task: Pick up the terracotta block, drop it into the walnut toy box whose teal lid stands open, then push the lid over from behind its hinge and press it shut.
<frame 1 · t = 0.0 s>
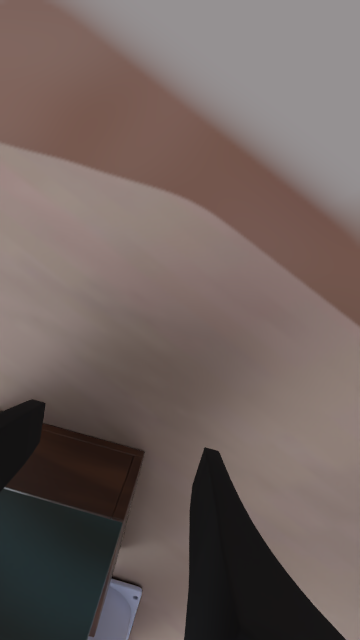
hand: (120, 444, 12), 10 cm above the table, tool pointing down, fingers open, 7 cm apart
toy box: (60, 482, 26), on the table
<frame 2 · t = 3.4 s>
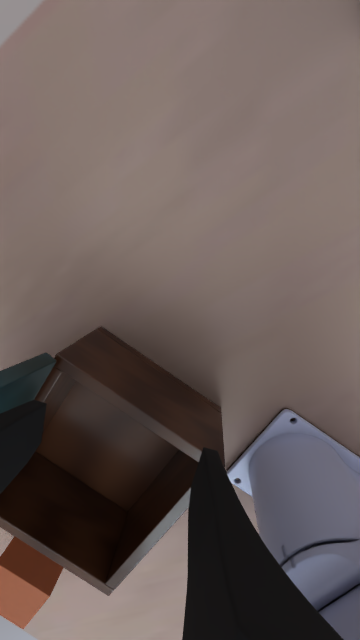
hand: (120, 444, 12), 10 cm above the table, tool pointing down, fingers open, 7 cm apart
toy box: (118, 427, 24), on the table
block: (45, 536, 27), on the table
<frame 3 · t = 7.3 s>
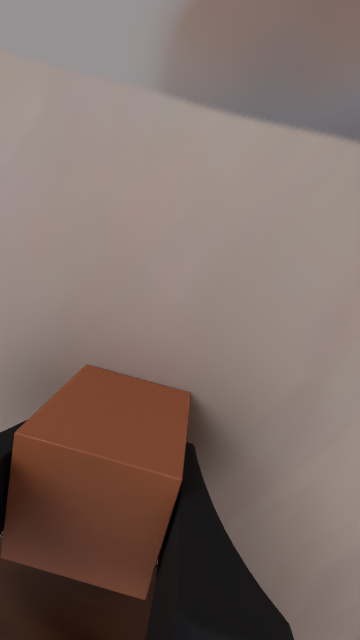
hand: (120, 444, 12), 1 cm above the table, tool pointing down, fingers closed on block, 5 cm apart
toy box: (89, 631, 17), on the table
block: (128, 424, 13), on the table, touching gripper
when the fingers open (2 cm above the table, at t = 12.7 s): block stays where it is, resting on toy box.
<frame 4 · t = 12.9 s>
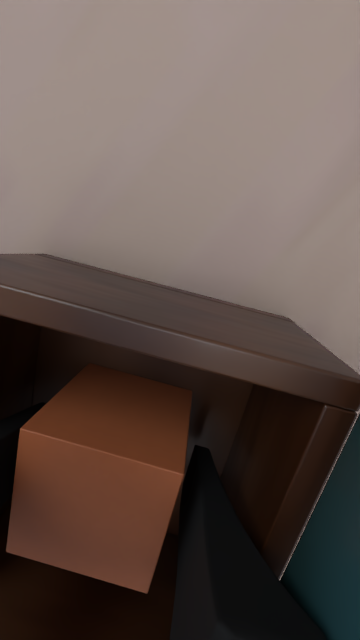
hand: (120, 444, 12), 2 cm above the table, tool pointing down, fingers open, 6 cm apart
toy box: (134, 413, 14), on the table
block: (130, 421, 13), point 1 cm above the table, touching toy box
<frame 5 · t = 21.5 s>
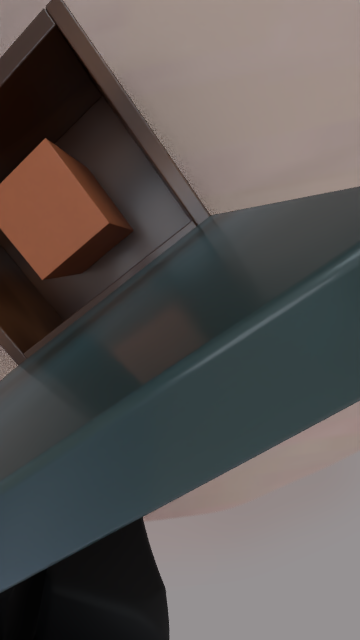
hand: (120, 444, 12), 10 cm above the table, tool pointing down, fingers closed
toy box: (89, 224, 20), on the table
block: (84, 223, 19), point 1 cm above the table, touching toy box
lid: (54, 364, 8), point 13 cm above the table, hinge at 97.6°, touching gripper
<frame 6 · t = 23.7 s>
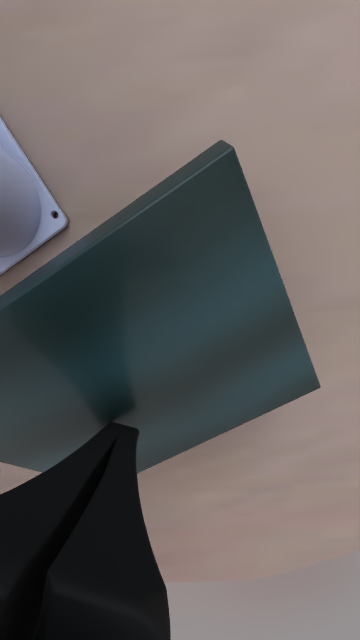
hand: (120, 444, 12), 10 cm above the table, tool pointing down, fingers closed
lid: (137, 392, 11), point 10 cm above the table, hinge at 33.5°, touching gripper
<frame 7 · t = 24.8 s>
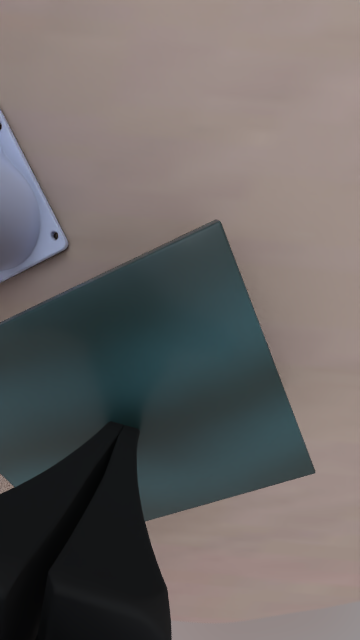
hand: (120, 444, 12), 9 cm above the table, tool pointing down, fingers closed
lid: (126, 421, 12), point 8 cm above the table, hinge at 11.4°
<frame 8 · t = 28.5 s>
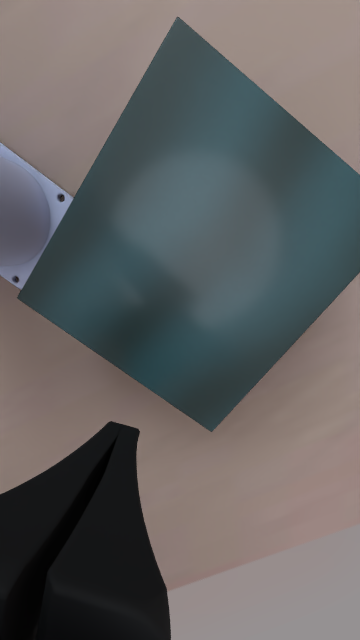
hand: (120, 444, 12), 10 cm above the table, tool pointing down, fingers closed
lid: (197, 260, 13), point 7 cm above the table, hinge at 1.5°
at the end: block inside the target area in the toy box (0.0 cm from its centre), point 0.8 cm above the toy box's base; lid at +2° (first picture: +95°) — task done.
